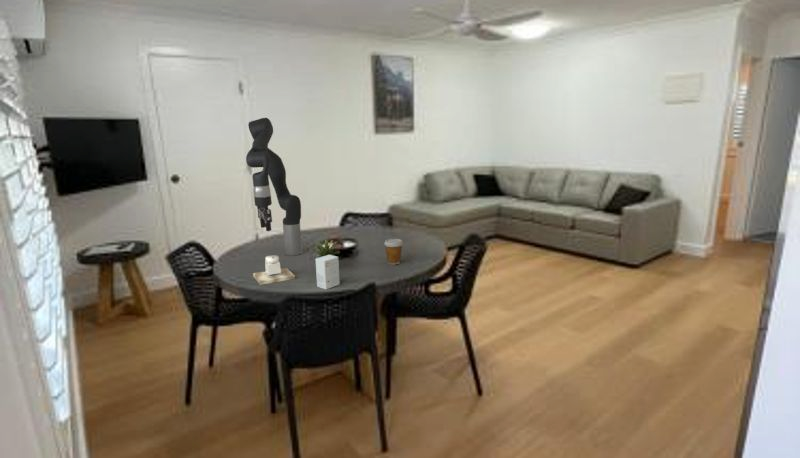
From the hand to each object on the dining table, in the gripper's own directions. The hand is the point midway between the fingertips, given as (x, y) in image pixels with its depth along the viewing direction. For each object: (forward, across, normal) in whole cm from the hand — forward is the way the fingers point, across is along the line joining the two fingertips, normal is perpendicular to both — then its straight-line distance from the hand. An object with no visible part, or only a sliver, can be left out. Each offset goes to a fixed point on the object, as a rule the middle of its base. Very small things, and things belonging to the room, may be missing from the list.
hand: (266, 229), depth 210 cm
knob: (+20, +7, -1) cm, 21 cm away
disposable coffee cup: (+24, +20, +58) cm, 66 cm away
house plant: (+23, +14, +23) cm, 35 cm away
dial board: (+22, +7, -1) cm, 23 cm away
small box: (+23, +32, +16) cm, 42 cm away
